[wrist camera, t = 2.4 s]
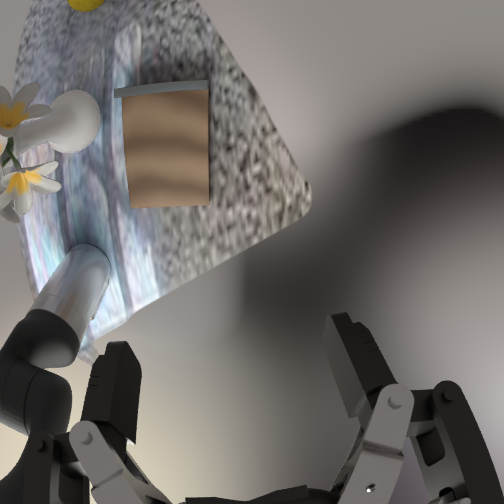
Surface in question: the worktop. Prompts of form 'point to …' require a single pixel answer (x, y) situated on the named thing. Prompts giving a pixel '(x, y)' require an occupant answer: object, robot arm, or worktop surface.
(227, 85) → the worktop surface
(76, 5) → the lemon
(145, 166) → the stop board
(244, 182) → the worktop surface
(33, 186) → the flower vase
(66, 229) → the worktop surface
